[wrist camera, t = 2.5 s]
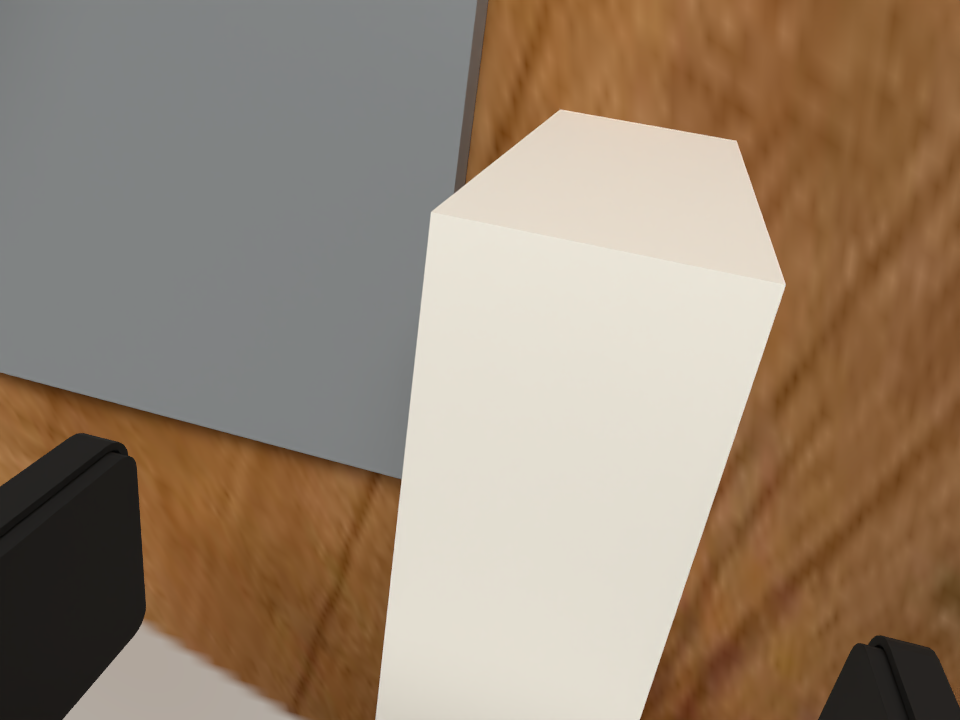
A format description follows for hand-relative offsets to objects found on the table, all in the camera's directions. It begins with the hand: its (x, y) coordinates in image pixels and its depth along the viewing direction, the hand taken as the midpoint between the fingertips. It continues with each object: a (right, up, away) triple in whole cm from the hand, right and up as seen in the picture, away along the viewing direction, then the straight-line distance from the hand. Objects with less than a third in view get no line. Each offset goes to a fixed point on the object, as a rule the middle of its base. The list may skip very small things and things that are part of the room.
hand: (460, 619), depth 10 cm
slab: (+3, +5, +9) cm, 11 cm away
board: (-9, +9, +11) cm, 17 cm away
